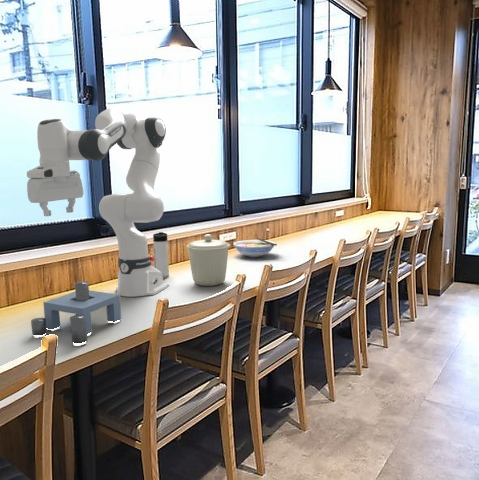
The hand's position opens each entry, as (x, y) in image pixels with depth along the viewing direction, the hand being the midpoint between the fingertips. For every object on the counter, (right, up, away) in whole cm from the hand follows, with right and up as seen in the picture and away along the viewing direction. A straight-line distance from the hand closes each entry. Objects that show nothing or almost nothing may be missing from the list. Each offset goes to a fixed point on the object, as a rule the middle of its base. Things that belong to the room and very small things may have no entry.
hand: (59, 214), depth 151 cm
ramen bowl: (+67, -18, +102) cm, 123 cm away
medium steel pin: (+13, -38, -19) cm, 44 cm away
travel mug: (+24, -25, +58) cm, 68 cm away
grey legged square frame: (+9, -36, -4) cm, 37 cm away
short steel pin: (-1, -37, -12) cm, 39 cm away
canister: (+46, -27, +47) cm, 71 cm away
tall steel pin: (+10, -36, -4) cm, 37 cm away
